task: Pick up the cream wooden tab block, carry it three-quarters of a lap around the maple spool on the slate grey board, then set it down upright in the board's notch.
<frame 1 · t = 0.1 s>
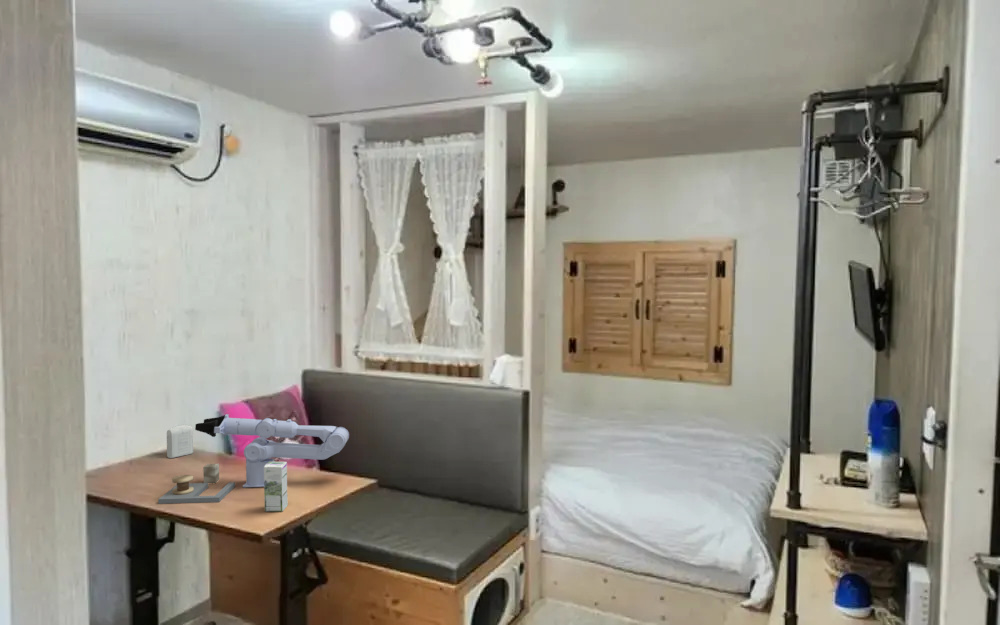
hand: (199, 424, 226), 22 cm above the table, tool horizontal, fingers open, 7 cm apart
notched board: (198, 494, 217), on the table
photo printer: (180, 456, 266), on the table
tab block: (211, 482, 231), on the table
syrup box: (276, 509, 204), on the table
spool: (183, 491, 216), resting on notched board
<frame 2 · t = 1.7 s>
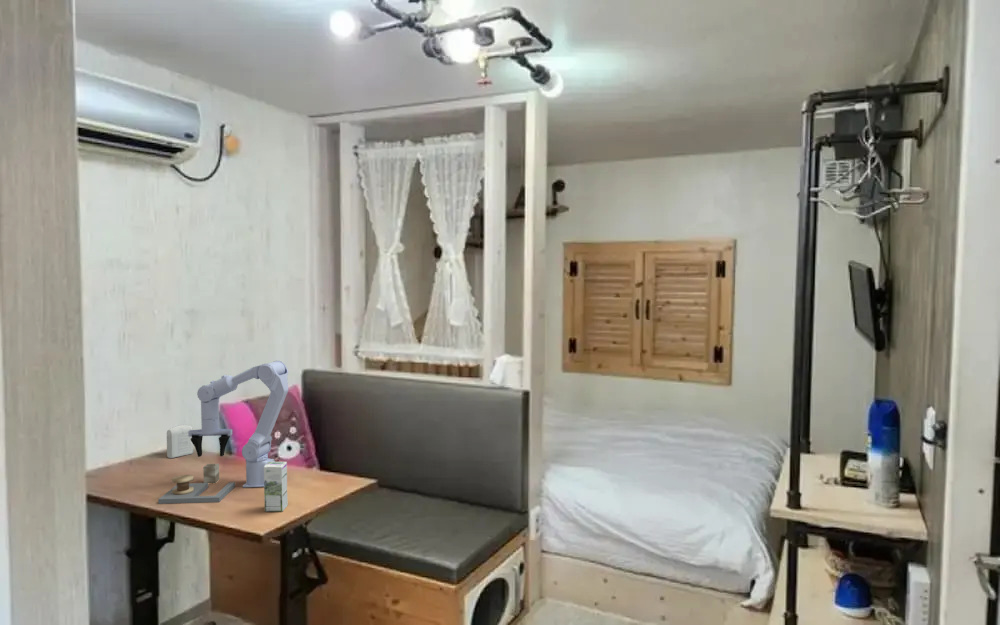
hand: (211, 455, 231), 9 cm above the table, tool pointing down, fingers open, 7 cm apart
nothing on the table moved.
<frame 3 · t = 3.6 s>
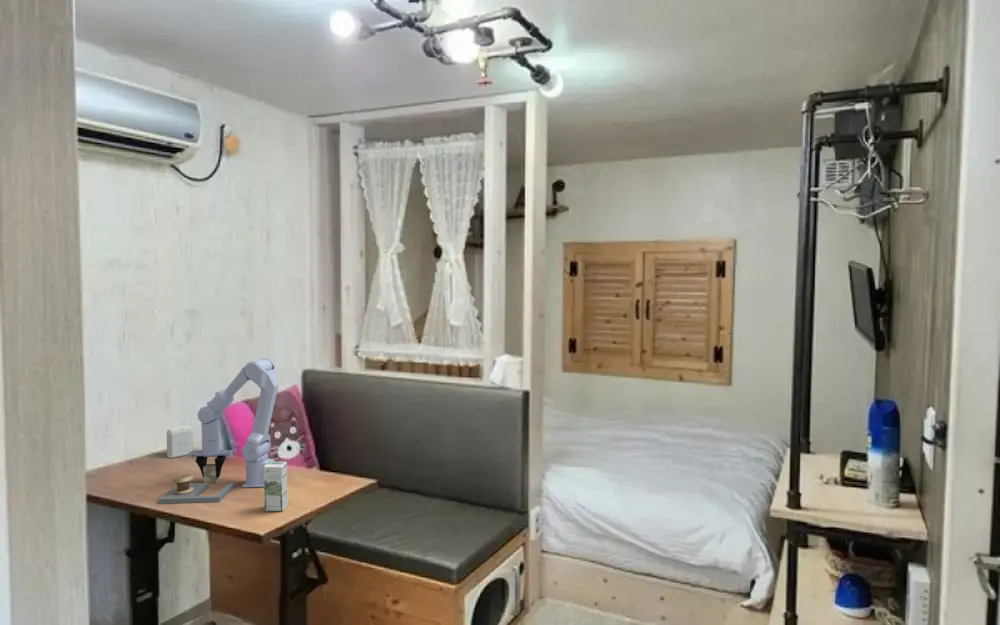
hand: (211, 476, 231), 2 cm above the table, tool pointing down, fingers closed on tab block, 4 cm apart
tab block: (211, 481, 231), on the table, touching gripper
everything else where it was.
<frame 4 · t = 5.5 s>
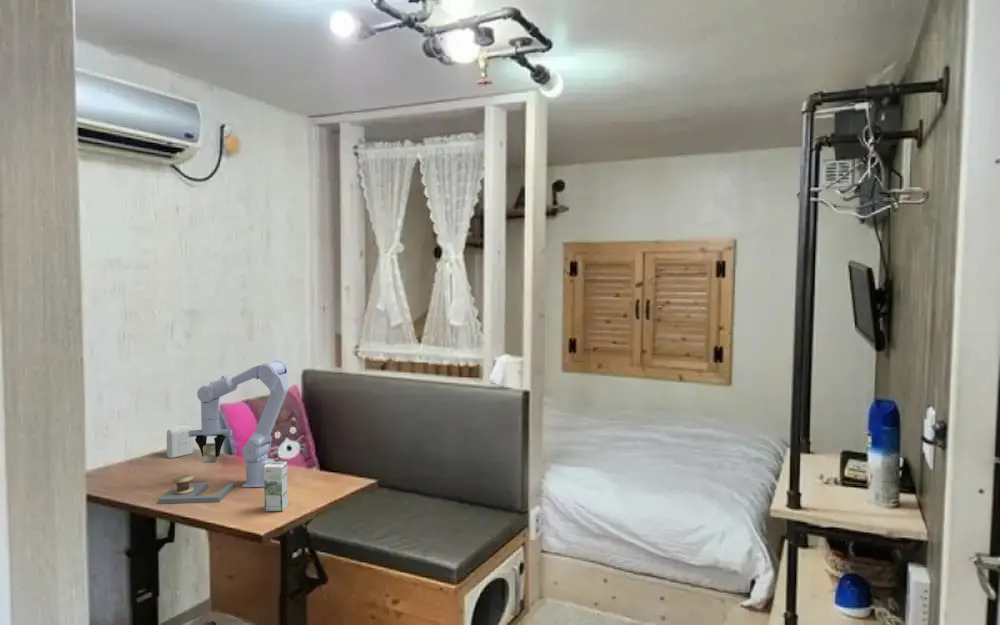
hand: (211, 456, 231), 9 cm above the table, tool pointing down, fingers closed on tab block, 4 cm apart
tab block: (211, 461, 231), point 7 cm above the table, touching gripper
everything else where it was.
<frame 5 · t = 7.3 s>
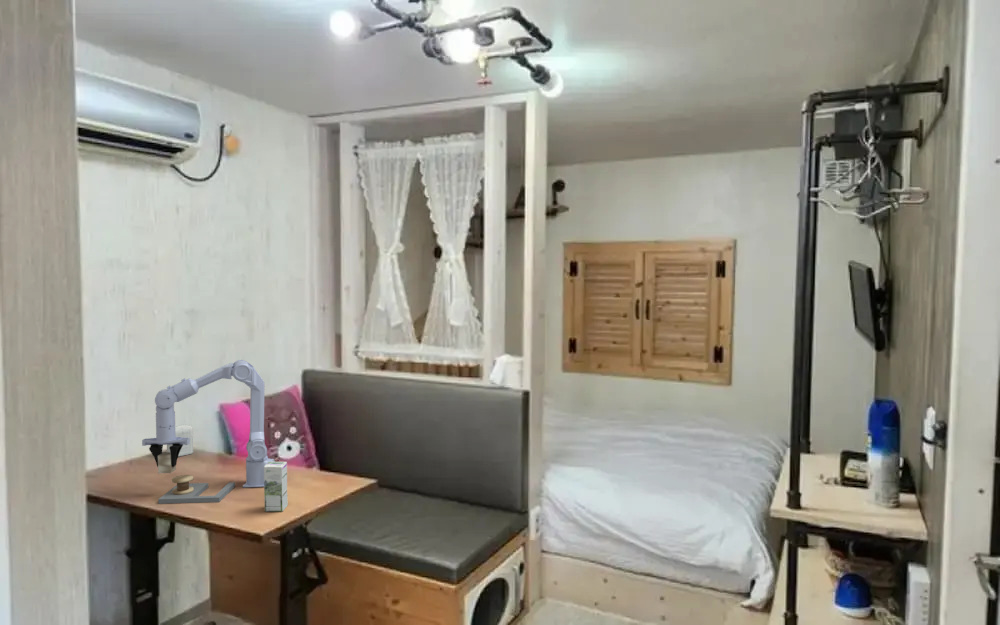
hand: (166, 466, 216), 10 cm above the table, tool pointing down, fingers closed on tab block, 4 cm apart
tab block: (167, 471, 217), point 8 cm above the table, touching gripper
everything else where it was.
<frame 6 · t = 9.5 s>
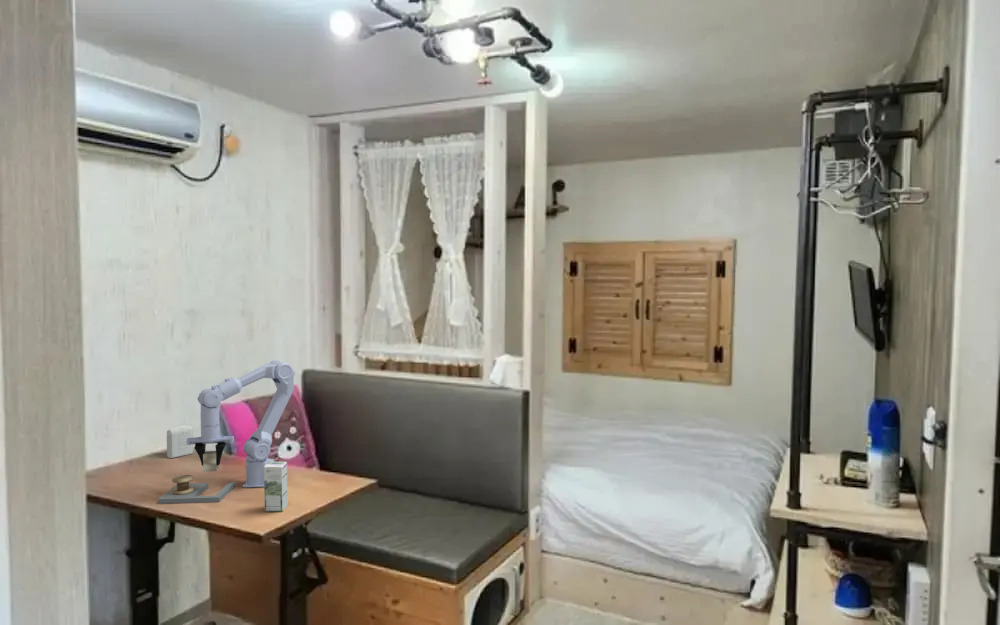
hand: (211, 464, 218), 10 cm above the table, tool pointing down, fingers closed on tab block, 4 cm apart
tab block: (211, 470, 218), point 8 cm above the table, touching gripper
everything else where it was.
when the fingers open (3 cm above the table, at t = 11.4 s): tab block drops 1 cm, resting in notched board.
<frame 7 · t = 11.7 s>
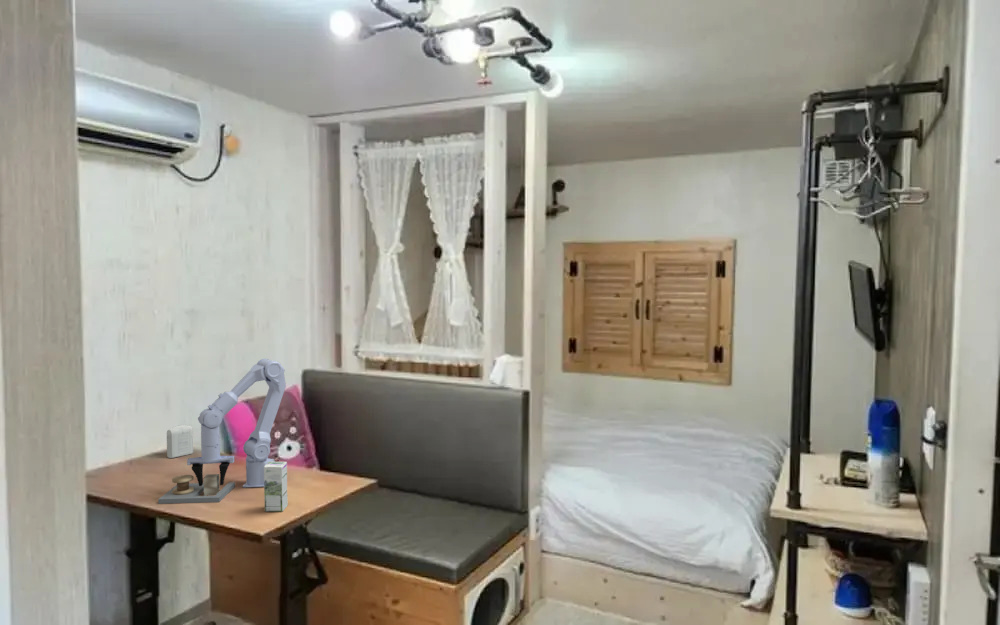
hand: (211, 484, 219), 3 cm above the table, tool pointing down, fingers open, 6 cm apart
tab block: (211, 493, 219), resting in notched board
everything else where it was.
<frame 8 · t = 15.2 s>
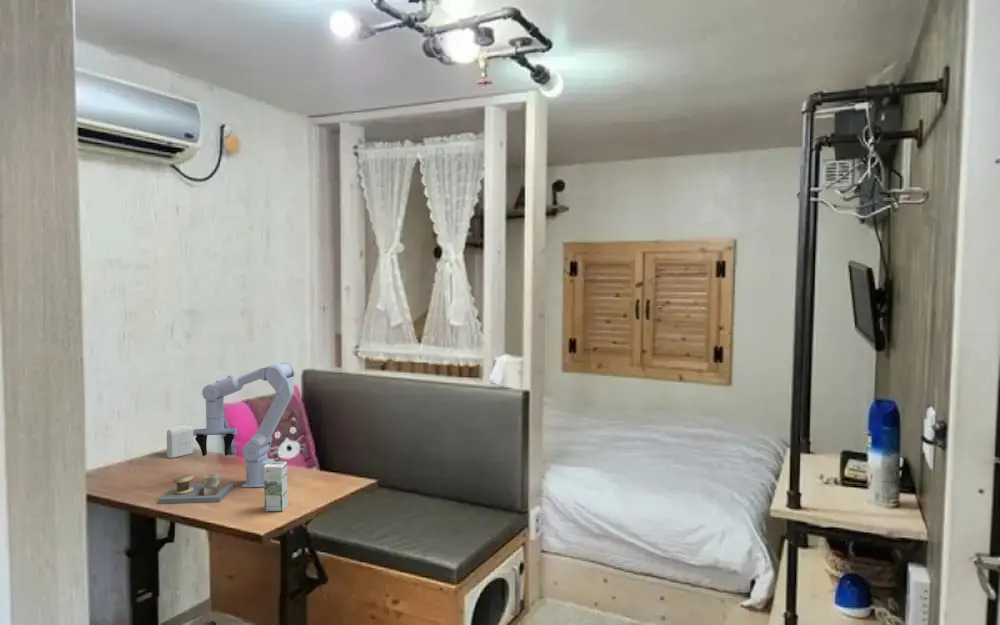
hand: (215, 455, 230), 10 cm above the table, tool pointing down, fingers open, 7 cm apart
nothing on the table moved.
at the end: tab block 0.2 cm from the target spot, resting in notched board; tab block tilted 0°; the gripper is holding nothing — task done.
